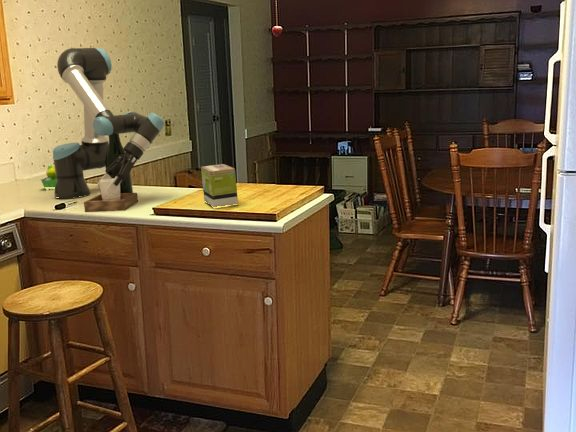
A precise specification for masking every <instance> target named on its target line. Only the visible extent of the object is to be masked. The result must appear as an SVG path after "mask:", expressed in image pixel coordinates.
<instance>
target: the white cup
mask: <svg viewBox="0 0 576 432" xmlns="http://www.w3.org/2000/svg"><path fill="white" fill-rule="evenodd" d="M113 180H114V178H112V179H103V180H101V179H100V180H98V183H99V184H100V189H99V190H100V194H101V195H102V199H103V201H107V200H121V199H120V196H121V195H120V184H119V185H118V187H117V188H116V189H115V191H114V192H113V193H112V194H111V193H110V192H109V191H107V190H106V189H107V188H108V186H109V185H110V184H111V182H112V181H113Z"/></svg>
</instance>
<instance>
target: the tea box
mask: <svg viewBox="0 0 576 432" xmlns="http://www.w3.org/2000/svg"><path fill="white" fill-rule="evenodd" d="M200 171H201V181H202V189H203V201H206V202H207V203H209V204H210V205H212V206H213V207H217V206H225V205H233V204H238V205H239V200H238V199H239V197H238V189H237V187H238V186H237V178H236V177H237V176H236V175H237V174H236V169H235V168H234V167H232V166H229V165H227V164H224V163H221V164H212V165H206V166H200ZM207 203H206V204H207Z"/></svg>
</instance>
